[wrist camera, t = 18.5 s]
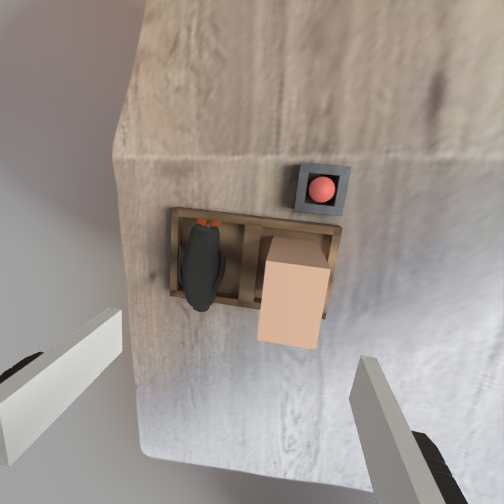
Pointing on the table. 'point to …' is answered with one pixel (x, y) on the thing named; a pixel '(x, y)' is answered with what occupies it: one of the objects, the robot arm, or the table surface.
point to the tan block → (293, 292)
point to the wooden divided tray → (247, 250)
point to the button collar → (339, 194)
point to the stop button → (321, 189)
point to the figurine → (202, 265)
